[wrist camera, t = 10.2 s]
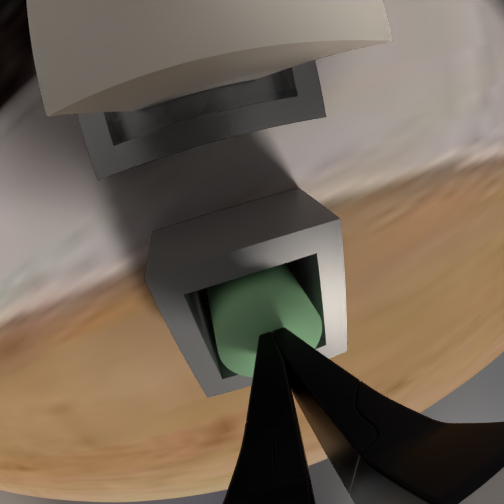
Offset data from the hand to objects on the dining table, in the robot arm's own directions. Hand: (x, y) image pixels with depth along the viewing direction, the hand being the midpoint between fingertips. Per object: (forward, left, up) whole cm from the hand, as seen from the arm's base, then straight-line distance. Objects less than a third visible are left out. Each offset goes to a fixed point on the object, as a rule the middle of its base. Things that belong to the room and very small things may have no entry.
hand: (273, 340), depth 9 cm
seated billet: (0, -9, -3) cm, 10 cm away
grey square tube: (0, 0, -4) cm, 4 cm away
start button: (0, 0, -3) cm, 3 cm away
